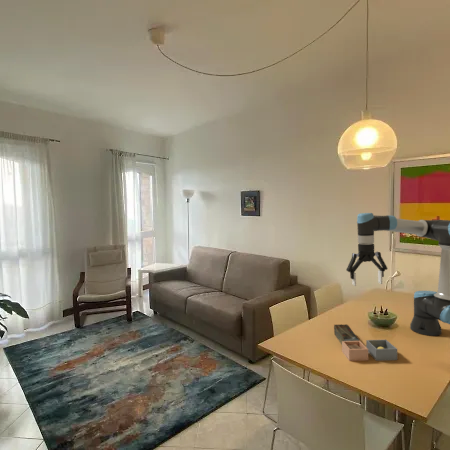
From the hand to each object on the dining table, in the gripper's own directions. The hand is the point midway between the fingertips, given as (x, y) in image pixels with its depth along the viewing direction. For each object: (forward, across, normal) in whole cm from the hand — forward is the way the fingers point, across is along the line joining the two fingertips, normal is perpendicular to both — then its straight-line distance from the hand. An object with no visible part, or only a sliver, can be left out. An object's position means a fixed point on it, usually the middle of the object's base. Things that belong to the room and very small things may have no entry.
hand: (367, 284), depth 155 cm
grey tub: (+33, -1, +10) cm, 35 cm away
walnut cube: (+32, +12, +9) cm, 36 cm away
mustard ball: (+33, -1, +10) cm, 34 cm away
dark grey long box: (+34, +9, -7) cm, 36 cm away
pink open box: (+33, +12, +9) cm, 36 cm away
